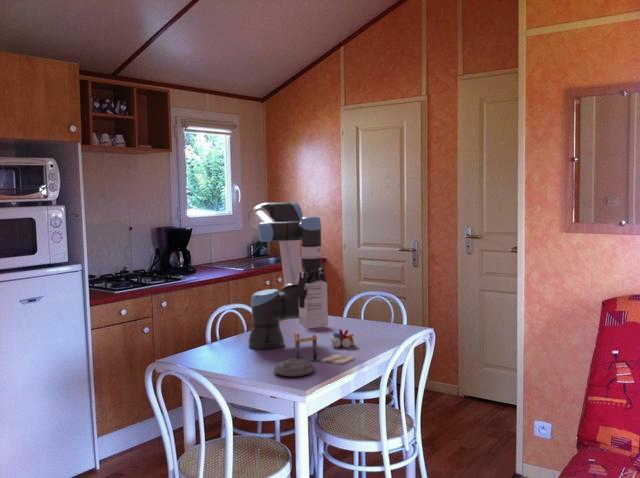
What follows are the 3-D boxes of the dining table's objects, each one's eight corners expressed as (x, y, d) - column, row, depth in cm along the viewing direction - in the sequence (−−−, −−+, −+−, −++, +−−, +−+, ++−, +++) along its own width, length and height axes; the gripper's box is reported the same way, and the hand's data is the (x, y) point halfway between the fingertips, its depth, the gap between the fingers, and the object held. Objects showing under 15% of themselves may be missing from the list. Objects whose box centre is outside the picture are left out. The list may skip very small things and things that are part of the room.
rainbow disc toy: (352, 349, 251) (352, 331, 251) (329, 348, 253) (329, 331, 253) (355, 344, 260) (355, 327, 259) (333, 343, 262) (332, 326, 261)
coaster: (322, 361, 233) (322, 359, 233) (333, 356, 241) (333, 354, 241) (342, 364, 229) (342, 362, 229) (354, 358, 236) (354, 356, 236)
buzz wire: (282, 362, 234) (281, 336, 233) (296, 356, 242) (295, 331, 241) (308, 366, 228) (307, 340, 227) (321, 359, 236) (320, 334, 235)
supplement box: (298, 323, 238) (297, 280, 236) (321, 321, 240) (320, 278, 239) (305, 328, 228) (304, 284, 227) (328, 326, 231) (327, 282, 230)
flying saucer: (288, 382, 210) (288, 366, 209) (265, 372, 222) (265, 357, 222) (323, 373, 219) (323, 358, 218) (299, 365, 231) (299, 350, 230)
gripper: (302, 261, 220) (303, 319, 221) (336, 254, 241) (337, 307, 242) (285, 260, 224) (286, 318, 225) (320, 253, 245) (321, 306, 246)
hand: (313, 312), depth 234 cm, fingers closed on supplement box, 13 cm apart
